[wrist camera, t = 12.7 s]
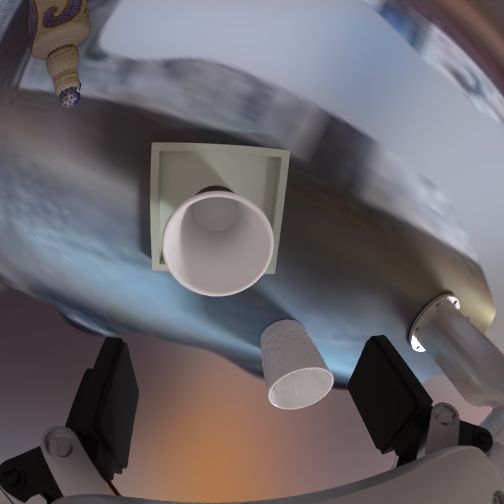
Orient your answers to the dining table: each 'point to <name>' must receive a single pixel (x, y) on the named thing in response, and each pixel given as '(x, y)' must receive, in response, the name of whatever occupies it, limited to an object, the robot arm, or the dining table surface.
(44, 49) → the decorative bottle
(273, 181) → the tray
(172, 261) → the dixie cup
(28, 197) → the dining table surface
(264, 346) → the white cup
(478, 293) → the dining table surface
